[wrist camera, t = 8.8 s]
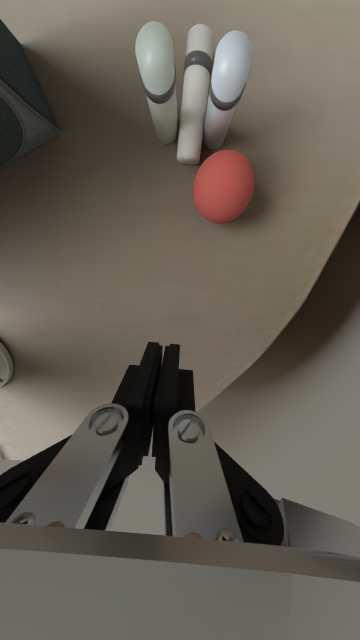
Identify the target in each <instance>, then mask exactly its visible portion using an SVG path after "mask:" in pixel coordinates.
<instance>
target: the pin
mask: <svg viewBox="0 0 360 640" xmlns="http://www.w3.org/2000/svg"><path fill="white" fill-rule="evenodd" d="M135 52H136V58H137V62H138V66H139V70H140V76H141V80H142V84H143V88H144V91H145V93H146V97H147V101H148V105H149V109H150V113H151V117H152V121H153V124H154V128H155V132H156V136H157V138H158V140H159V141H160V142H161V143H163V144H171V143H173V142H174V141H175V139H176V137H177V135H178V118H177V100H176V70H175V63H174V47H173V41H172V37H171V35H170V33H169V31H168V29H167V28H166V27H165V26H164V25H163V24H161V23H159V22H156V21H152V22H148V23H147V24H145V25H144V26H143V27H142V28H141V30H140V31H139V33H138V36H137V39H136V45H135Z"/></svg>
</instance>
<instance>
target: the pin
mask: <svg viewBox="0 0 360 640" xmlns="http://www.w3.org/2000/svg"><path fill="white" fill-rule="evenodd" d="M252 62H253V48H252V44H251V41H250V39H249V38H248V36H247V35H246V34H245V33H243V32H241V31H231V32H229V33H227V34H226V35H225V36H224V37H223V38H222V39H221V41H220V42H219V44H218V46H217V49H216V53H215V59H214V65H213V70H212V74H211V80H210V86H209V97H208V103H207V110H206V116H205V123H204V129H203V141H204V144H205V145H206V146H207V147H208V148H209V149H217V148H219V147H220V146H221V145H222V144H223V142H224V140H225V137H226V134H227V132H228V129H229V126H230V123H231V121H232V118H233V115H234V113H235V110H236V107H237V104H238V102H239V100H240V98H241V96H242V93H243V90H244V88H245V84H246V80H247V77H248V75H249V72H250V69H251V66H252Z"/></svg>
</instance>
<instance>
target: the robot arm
mask: <svg viewBox="0 0 360 640" xmlns="http://www.w3.org/2000/svg"><path fill="white" fill-rule="evenodd" d="M162 348H163V346H160V345H159V343H157V342H148V344H147V347H146V349H145V352H144V355H143V357H142V360H141V363H140V365H129V367H128V369H127V371H126V373H125V375H124V377H123V380H122V382H121V384H120V386H119V388H118V390H117V392H116V394H115V397H114V399H113V401H112V403H110V404H104V405H102V406H99V407H97V408H96V409H94V410H92V411H91V412H90V413H89V414H88V415H87V417H86V418H85V419H84V421H83V422H82V423H81V425H80V426H79V427H78V428H77V430H76V431H75V432H74V434H73V435H71V436H69V437H67V438H65V439H63V440H62V441H60V442H58V443H56V444H54V445H52V446H51V447H49V448H47V449H45V450H43V451H41V452H40V453H38V454H36V455H34V456H32V457H31V458H29V459H27V460H25V461H23V462H21V463H20V464H18V465H16V466H14V467H12V468H10V469H9V470H8V471H6V472H4V473H3V474H1V475H0V640H360V527H358V526H357V525H355V524H353V523H351V522H349V521H346V520H343V519H340V518H338V517H335V516H332V515H329V514H326V513H324V512H321V511H317V510H315V509H312V508H310V507H306V506H304V505H301V504H298V503H296V502H293V501H290V500H287V499H284V498H281V500H280V501H279V500H276V499H274V498H272V496H271V495H270V494H269V493H268V492H267V491H266V490H265V489H264V488H263V487H262V486H261V485H260V484H259V483H258V482H257V481H256V480H255V479H253V478H252V477H251V476H250V475H249V474H248V473H247V472H246V471H245V470H244V469H243V468H242V467H240V465H239V464H237V463H236V462H235V461H234V460H233V459H232V458H231V457H230V456H229V455H228V454H227V453H226V452H225V451H224V450H222V449H221V448H220V447H219V446H218V445H217V444H216V443H215V442H214V440H213V437H212V434H211V431H210V427H209V425H208V422H207V421H206V419H205V418H204V417H203V416H202V415H200V414H199V413H197V412H195V399H194V383H193V371H192V370H183V369H179V352H180V345H179V344H170V346H165V352H164V357H163V362H162ZM161 364H162V367H161ZM12 374H13V363H12V359H11V356H10V354H9V352H8V351H7V349H6V348H5V346H4V345H3V344H2V343H1V342H0V387H1V386H3V385H4V384H6V383H7V382H8V381H9V380H10V378H11V377H12ZM153 425H154V426H153ZM152 431H153V445H152V457H156V462H155V470H156V472H157V473H158V474H159V476H160V477H161V479H162V480H163V505H164V536H163V535H151V534H139V533H126V532H115V531H110V528H111V526H112V523H113V521H114V518H115V515H116V512H117V510H118V507H119V504H120V502H121V499H122V496H123V494H124V491H125V489H126V486H127V483H128V479H129V475H130V474H132V473H133V472H134V471H135V470H136V469H138V466H139V465H142V459H143V456H148V454H149V447H150V442H151V437H152Z"/></svg>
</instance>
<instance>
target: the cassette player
mask: <svg viewBox="0 0 360 640" xmlns="http://www.w3.org/2000/svg"><path fill="white" fill-rule="evenodd" d="M60 134H62V131H61V129H60V127H59V125H58V123H57V120H56V118H55V116H54V114H53V112H52V110H51V108H50V106H49V103H48V101H47V99H46V97H45V95H44V93H43V91H42V89H41V86H40V84H39V82H38V80H37V78H36V76H35V74H34V72H33V69H32V67H31V65H30V63H29V61H28V59H27V57H26V55H25V53H24V50H23V48H22V46H21V44H20V43H19V42H18V40H17V39H16V38H15V37H14V35H13V34H12V33H11V32H10V30H9V29H8V28H7V27H6V26H5V24H4V23H3V22H2V21H1V19H0V169H1V168H2V167H4V166H6V165H8V164H9V163H11V162H13V161H15V160H16V159H18V158H20V157H22V156H23V155H25V154H27V153H29V152H30V151H32V150H34V149H36V148H37V147H39V146H41V145H43V144H44V143H46V142H48V141H50V140H51V139H53V138H55V137H57V136H58V135H60Z"/></svg>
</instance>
